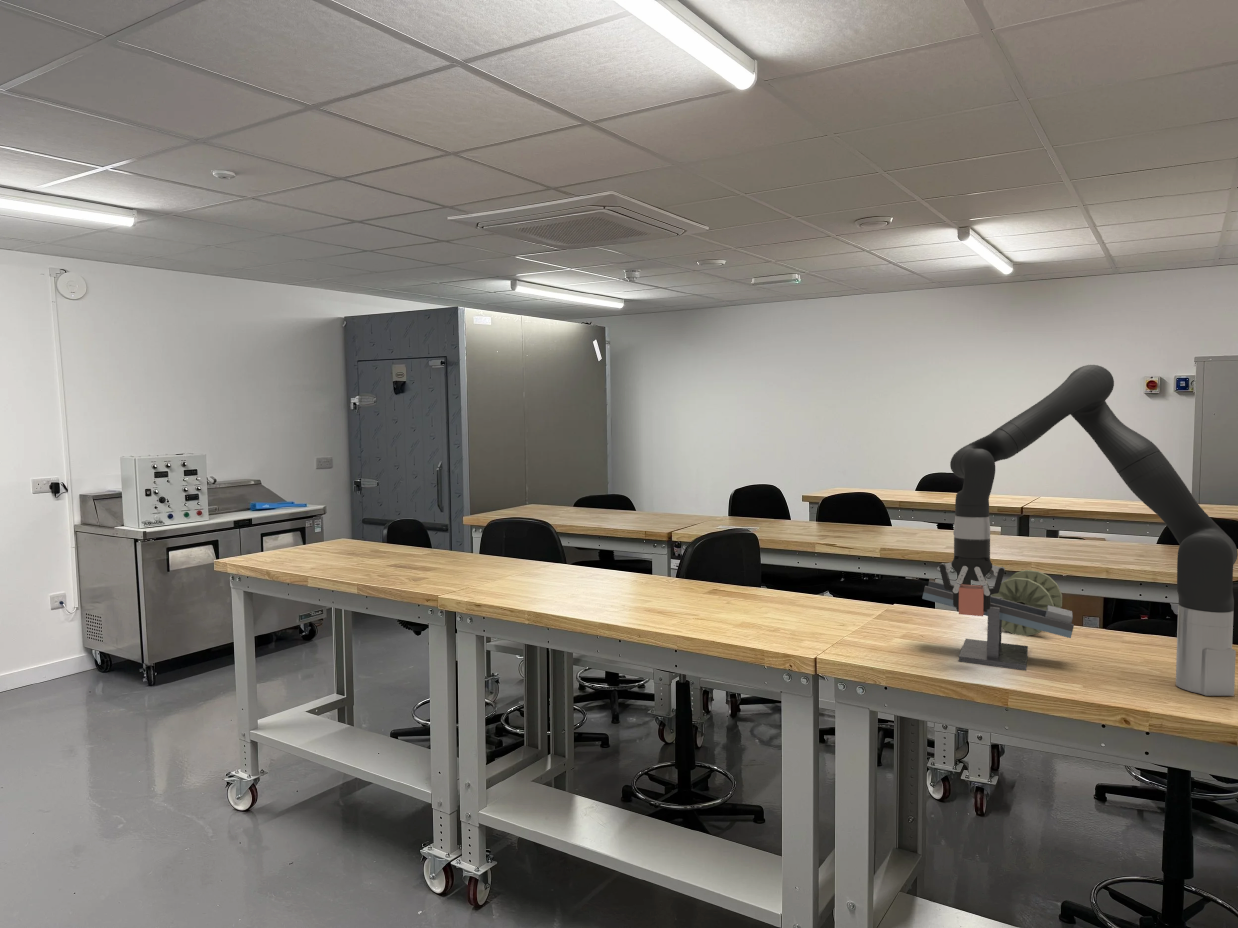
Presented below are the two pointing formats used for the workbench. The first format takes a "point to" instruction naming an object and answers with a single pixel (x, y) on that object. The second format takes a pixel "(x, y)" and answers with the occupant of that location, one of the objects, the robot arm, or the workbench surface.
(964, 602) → the block
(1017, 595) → the spool
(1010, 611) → the balance beam
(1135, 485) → the robot arm
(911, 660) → the workbench surface
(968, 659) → the pivot stand
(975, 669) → the workbench surface
